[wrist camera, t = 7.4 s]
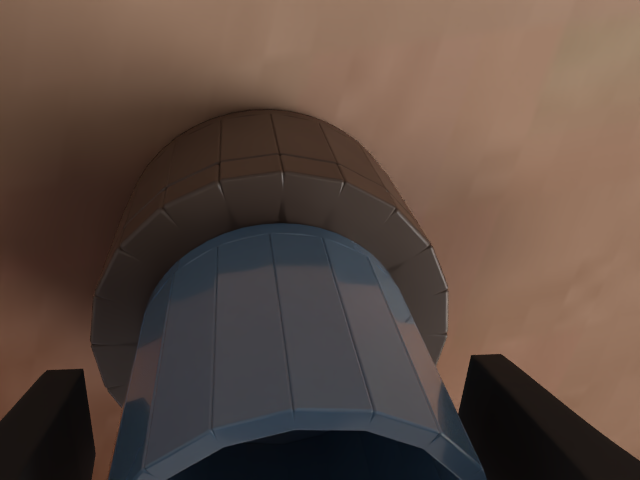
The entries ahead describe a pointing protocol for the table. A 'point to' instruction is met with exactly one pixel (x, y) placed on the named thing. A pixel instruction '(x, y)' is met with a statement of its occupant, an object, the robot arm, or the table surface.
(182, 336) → the cup
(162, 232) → the brown short cylinder
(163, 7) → the table surface
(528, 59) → the table surface
